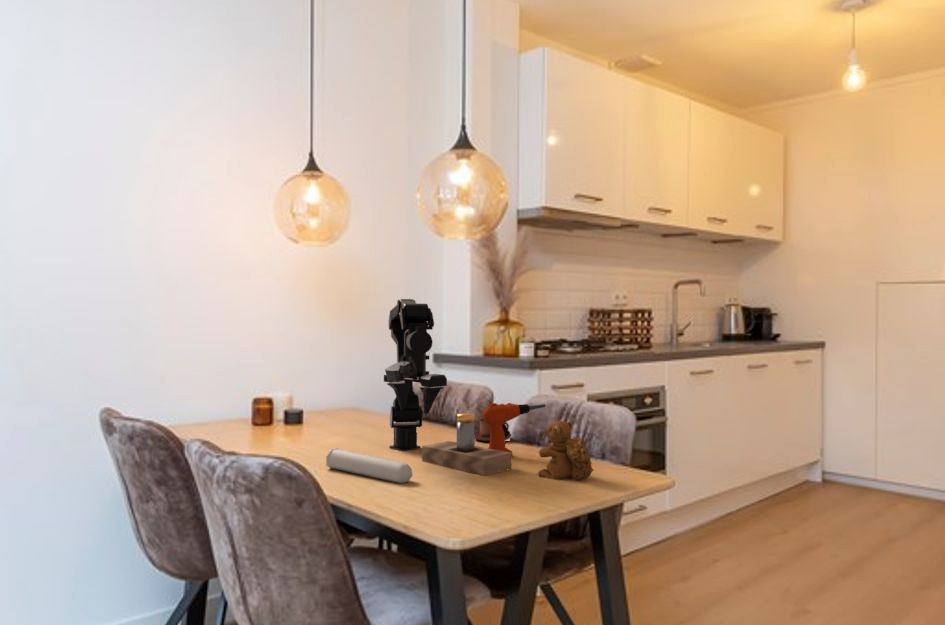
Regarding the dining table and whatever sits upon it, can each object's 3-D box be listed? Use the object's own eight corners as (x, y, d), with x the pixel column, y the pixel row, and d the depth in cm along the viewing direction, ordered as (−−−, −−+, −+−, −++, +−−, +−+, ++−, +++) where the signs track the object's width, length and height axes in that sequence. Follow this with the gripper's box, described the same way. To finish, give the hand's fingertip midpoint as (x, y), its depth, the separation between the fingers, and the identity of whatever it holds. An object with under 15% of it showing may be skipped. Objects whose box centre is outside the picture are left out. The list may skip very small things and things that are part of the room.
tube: (419, 464, 159) (344, 449, 174) (404, 460, 155) (329, 445, 170) (413, 487, 157) (338, 470, 172) (398, 484, 153) (323, 467, 168)
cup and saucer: (488, 435, 219) (488, 416, 219) (518, 440, 211) (519, 420, 211) (463, 440, 210) (464, 420, 210) (494, 445, 202) (494, 424, 202)
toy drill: (553, 450, 188) (547, 396, 188) (488, 462, 183) (481, 406, 183) (546, 446, 193) (541, 393, 192) (482, 458, 188) (476, 404, 187)
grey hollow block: (422, 461, 179) (422, 445, 179) (449, 455, 187) (449, 440, 187) (484, 475, 164) (484, 458, 164) (511, 469, 171) (511, 453, 171)
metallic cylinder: (454, 466, 174) (454, 415, 174) (458, 462, 178) (459, 412, 178) (472, 467, 173) (472, 415, 173) (476, 463, 177) (476, 413, 177)
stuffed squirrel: (558, 468, 173) (558, 416, 173) (604, 479, 162) (605, 423, 162) (531, 475, 166) (532, 420, 166) (578, 486, 155) (578, 428, 155)
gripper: (367, 351, 179) (367, 410, 179) (415, 354, 166) (415, 419, 166) (400, 349, 187) (399, 407, 187) (448, 353, 174) (447, 414, 174)
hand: (414, 411), depth 178 cm, fingers open, 9 cm apart
